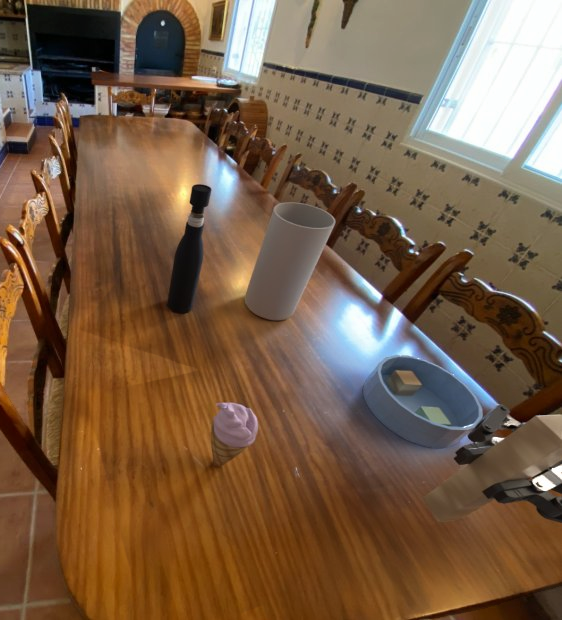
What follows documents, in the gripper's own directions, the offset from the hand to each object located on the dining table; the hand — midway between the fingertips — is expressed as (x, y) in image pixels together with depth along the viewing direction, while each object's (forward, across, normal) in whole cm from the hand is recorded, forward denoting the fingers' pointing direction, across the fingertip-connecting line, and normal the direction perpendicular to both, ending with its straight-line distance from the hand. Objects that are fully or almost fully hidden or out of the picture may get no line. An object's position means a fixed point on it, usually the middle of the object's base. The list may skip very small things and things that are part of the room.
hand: (475, 473), depth 37 cm
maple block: (-24, +24, -21) cm, 41 cm away
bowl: (-24, +20, -22) cm, 38 cm away
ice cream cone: (+18, +15, -22) cm, 32 cm away
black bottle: (+14, +55, -22) cm, 61 cm away
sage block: (-23, +16, -21) cm, 35 cm away
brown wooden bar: (-3, 0, -10) cm, 10 cm away
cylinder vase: (-9, +53, -22) cm, 58 cm away
